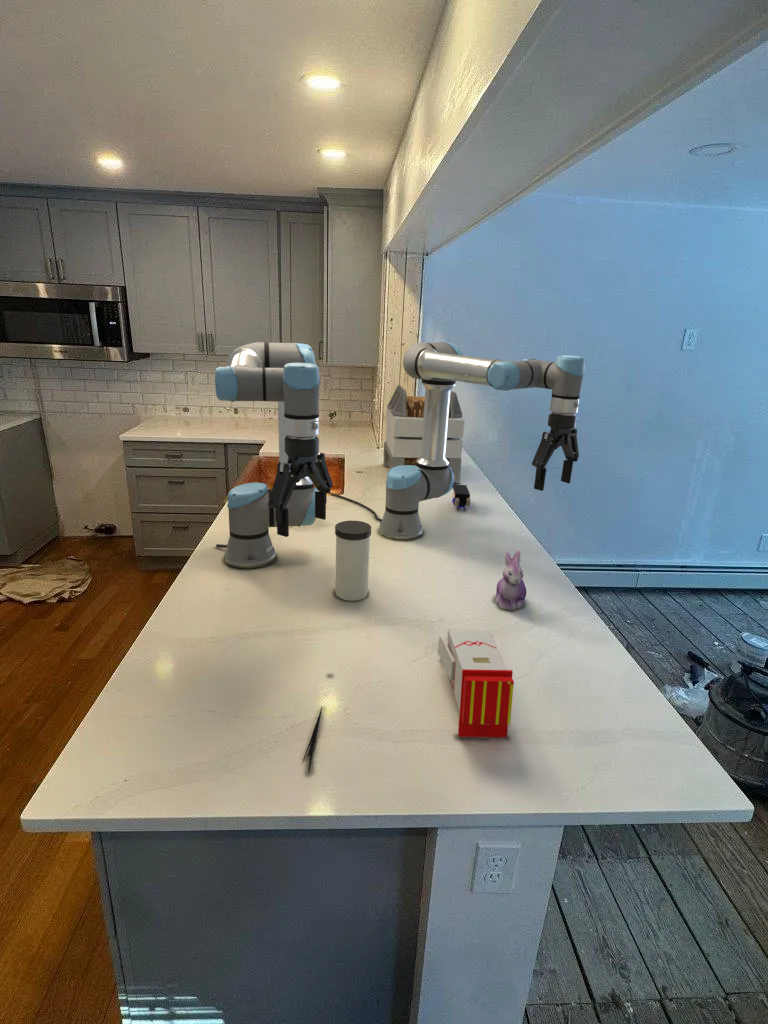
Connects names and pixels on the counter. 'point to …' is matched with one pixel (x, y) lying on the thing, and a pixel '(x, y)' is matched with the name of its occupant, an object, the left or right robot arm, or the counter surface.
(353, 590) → the jar
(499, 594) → the figurine
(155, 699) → the counter surface
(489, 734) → the toy
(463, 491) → the figurine character
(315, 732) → the feather
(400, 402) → the light grey slatted crate
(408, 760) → the counter surface
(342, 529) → the lid
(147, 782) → the counter surface
